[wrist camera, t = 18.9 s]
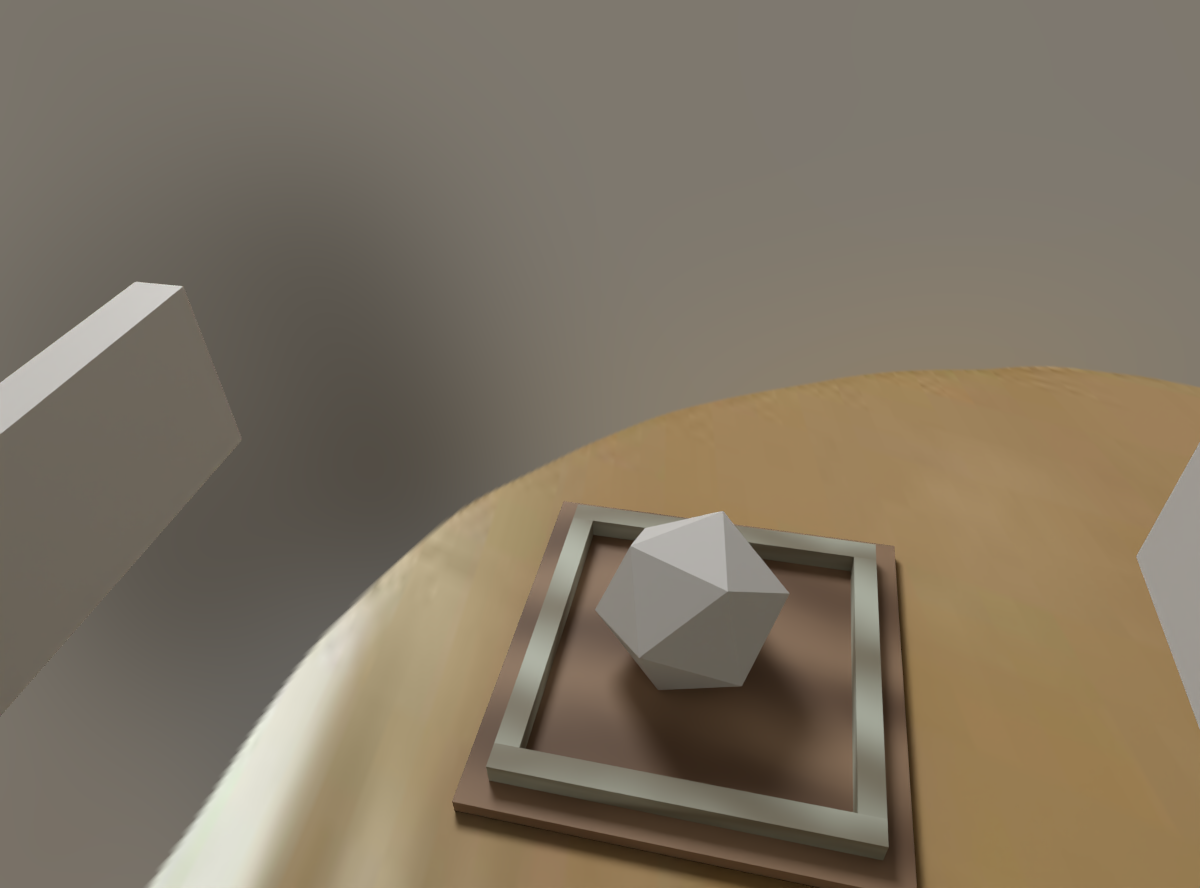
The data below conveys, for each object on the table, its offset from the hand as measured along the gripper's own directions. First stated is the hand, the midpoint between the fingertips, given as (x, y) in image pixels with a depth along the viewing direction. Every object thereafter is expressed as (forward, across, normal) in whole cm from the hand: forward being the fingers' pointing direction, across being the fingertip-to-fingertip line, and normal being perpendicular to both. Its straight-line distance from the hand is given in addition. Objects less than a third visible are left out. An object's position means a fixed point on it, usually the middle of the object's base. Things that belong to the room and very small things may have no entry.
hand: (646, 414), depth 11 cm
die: (+18, -1, -29) cm, 35 cm away
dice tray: (+18, 0, -30) cm, 35 cm away
